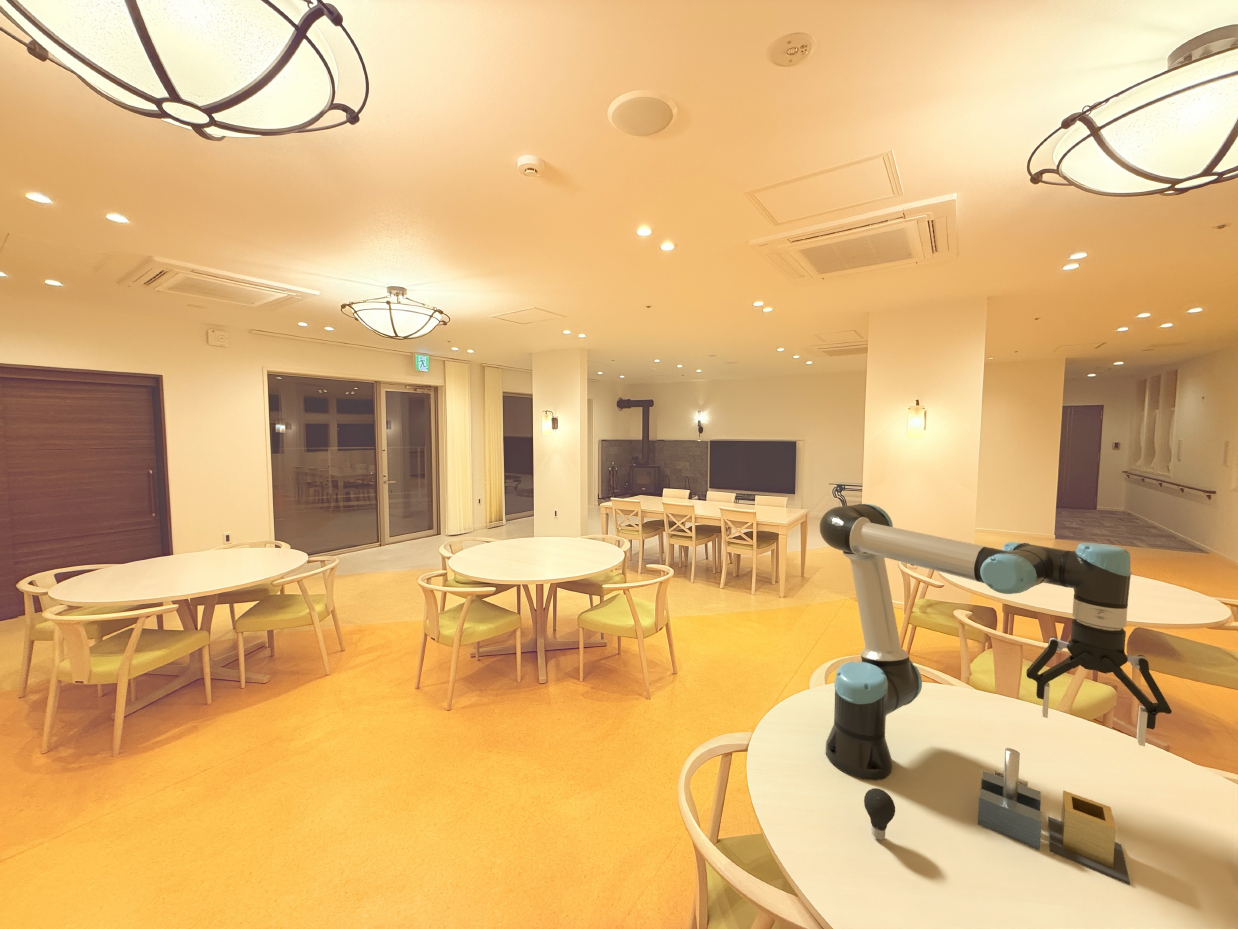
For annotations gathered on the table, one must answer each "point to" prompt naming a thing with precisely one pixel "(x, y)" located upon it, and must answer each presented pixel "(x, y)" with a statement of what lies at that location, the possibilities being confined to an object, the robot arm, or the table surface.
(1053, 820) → the mat
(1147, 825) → the table surface
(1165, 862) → the table surface
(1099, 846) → the open wooden box
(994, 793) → the vise
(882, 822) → the light bulb
